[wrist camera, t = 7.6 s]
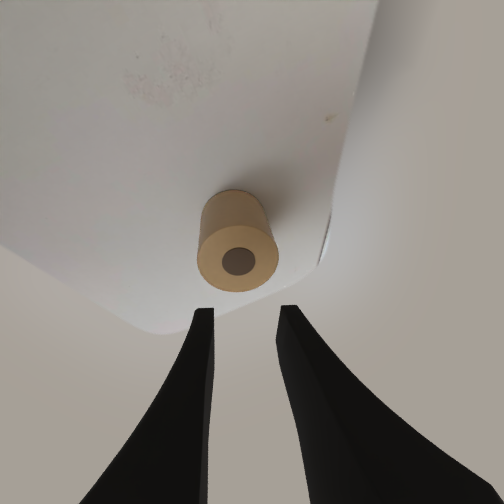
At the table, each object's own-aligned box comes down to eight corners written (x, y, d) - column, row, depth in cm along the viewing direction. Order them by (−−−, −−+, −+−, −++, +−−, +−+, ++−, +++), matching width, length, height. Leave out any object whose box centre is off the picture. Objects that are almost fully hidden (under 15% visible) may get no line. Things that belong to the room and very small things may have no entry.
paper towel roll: (226, 257, 20) (229, 304, 16) (187, 214, 18) (179, 256, 14) (276, 225, 19) (293, 267, 15) (241, 176, 17) (250, 209, 13)
